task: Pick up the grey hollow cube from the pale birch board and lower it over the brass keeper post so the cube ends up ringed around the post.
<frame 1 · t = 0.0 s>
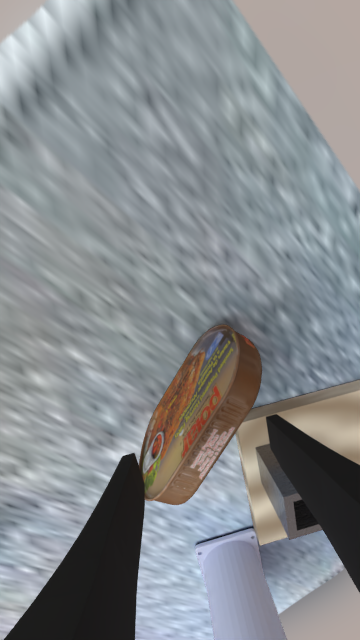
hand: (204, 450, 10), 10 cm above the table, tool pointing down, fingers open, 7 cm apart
grey hollow cube: (279, 459, 22), point 1 cm above the table, touching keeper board
tin: (186, 382, 21), on the table
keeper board: (321, 455, 24), on the table
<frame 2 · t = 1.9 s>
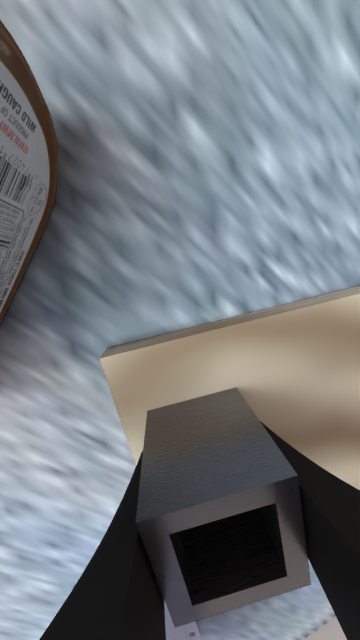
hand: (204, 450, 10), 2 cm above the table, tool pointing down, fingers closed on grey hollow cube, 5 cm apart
grey hollow cube: (201, 436, 11), point 1 cm above the table, touching gripper, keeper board
tin: (3, 276, 10), on the table
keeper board: (289, 432, 14), on the table
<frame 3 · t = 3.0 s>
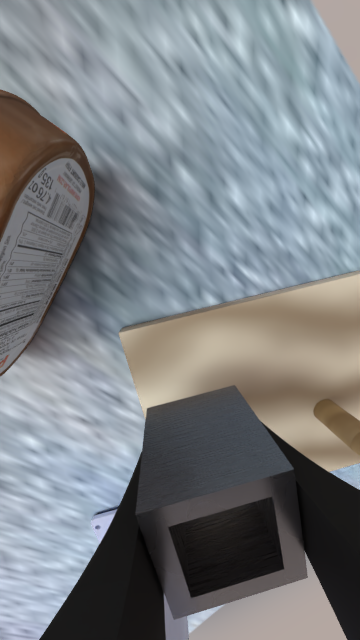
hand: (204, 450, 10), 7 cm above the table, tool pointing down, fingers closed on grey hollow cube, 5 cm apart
grey hollow cube: (200, 433, 11), point 6 cm above the table, touching gripper
tin: (50, 276, 15), on the table
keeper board: (258, 394, 18), on the table
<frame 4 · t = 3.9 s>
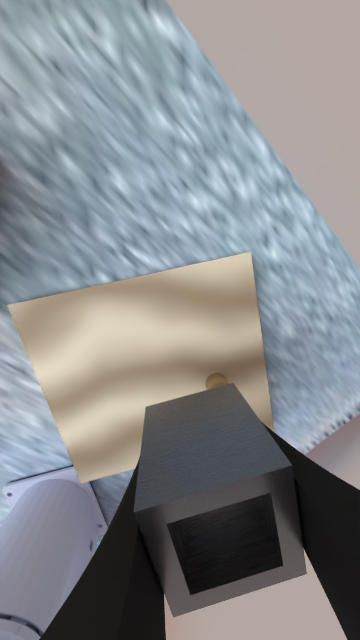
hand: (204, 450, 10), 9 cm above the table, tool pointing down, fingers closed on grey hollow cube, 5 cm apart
grey hollow cube: (199, 432, 11), point 8 cm above the table, touching gripper
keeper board: (159, 369, 19), on the table
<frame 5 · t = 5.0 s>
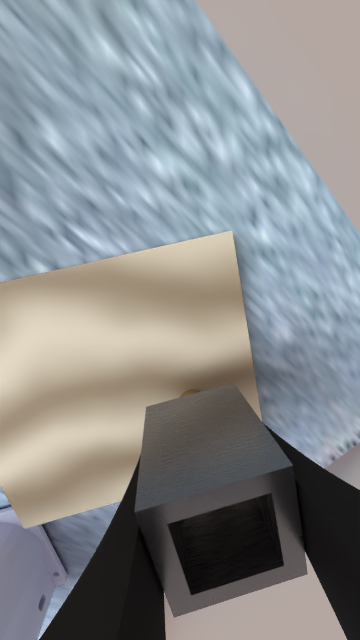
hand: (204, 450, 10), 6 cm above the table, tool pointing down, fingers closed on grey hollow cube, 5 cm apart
grey hollow cube: (199, 432, 11), point 5 cm above the table, touching gripper
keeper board: (121, 384, 15), on the table
when the fingers open (4 cm above the table, at t = 6.0 s): grey hollow cube drops 1 cm, resting on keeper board.
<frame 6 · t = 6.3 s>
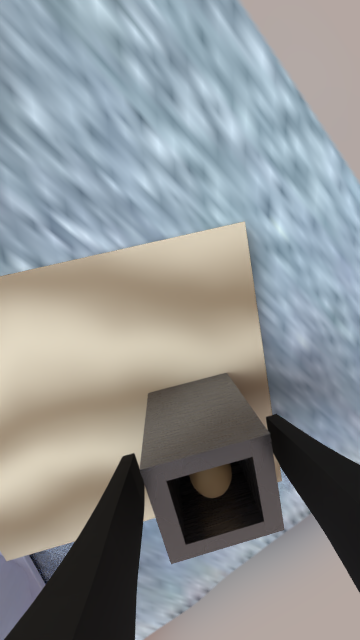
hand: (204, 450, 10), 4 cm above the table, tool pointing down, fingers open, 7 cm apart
grey hollow cube: (195, 416, 13), point 1 cm above the table, touching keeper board
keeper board: (116, 398, 14), on the table
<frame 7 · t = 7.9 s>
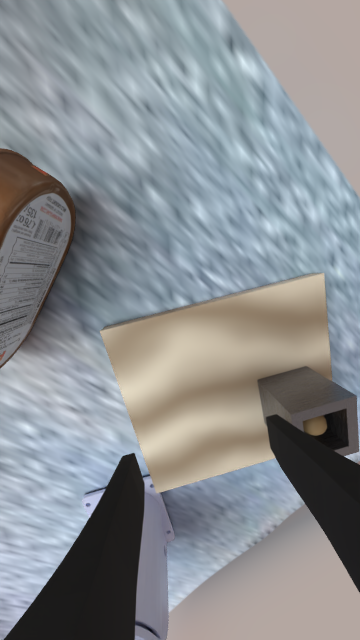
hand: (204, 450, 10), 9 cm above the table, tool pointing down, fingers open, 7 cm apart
grey hollow cube: (284, 395, 19), point 1 cm above the table, touching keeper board
tin: (41, 283, 17), on the table
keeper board: (228, 384, 20), on the table
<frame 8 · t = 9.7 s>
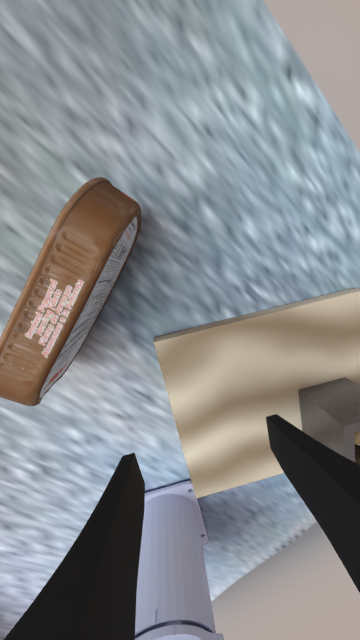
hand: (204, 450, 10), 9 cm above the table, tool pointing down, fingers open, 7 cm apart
grey hollow cube: (323, 404, 20), point 1 cm above the table, touching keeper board
tin: (96, 295, 18), on the table
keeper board: (267, 393, 21), on the table
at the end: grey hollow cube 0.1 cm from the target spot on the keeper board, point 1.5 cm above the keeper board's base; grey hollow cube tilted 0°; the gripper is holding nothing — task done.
